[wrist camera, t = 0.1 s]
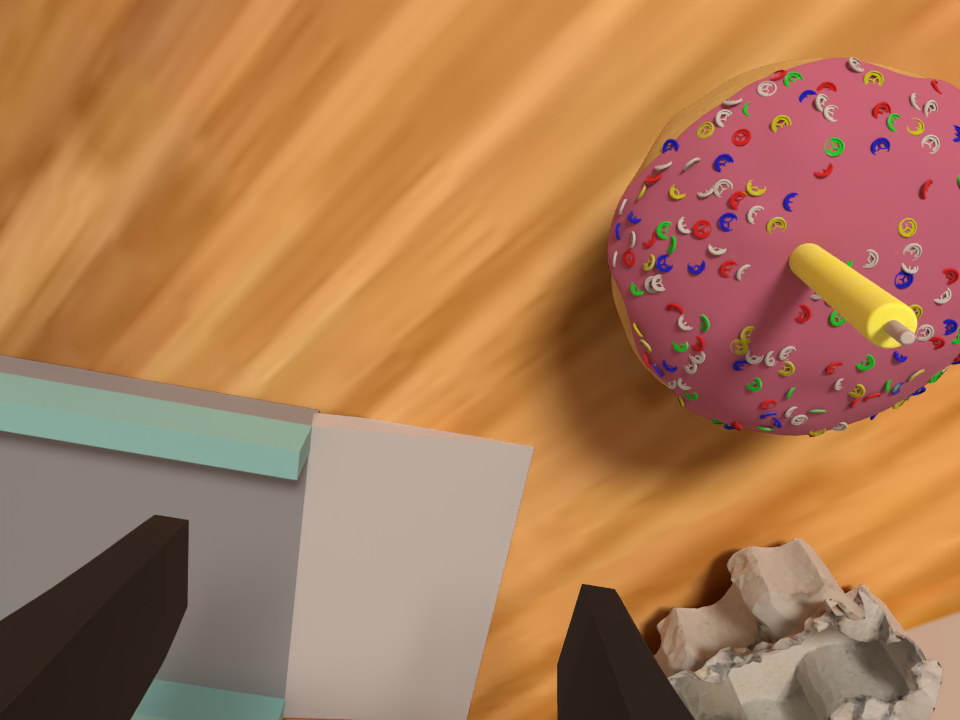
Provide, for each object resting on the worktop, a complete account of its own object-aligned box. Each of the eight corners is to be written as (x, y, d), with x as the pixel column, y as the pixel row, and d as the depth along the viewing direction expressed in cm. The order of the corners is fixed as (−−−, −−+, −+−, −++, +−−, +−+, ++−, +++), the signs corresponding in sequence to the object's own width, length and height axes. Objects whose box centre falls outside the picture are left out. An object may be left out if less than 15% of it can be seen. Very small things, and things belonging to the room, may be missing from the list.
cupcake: (529, 248, 21) (556, 490, 10) (731, -29, 18) (1086, -115, 7) (752, 400, 23) (982, 745, 12) (971, 172, 20) (1551, 353, 9)
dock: (466, 705, 30) (461, 794, 26) (-59, 624, 29) (-135, 706, 25) (533, 435, 24) (538, 502, 21) (-110, 323, 23) (-215, 374, 20)
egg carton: (781, 506, 24) (843, 596, 20) (913, 618, 26) (990, 718, 22) (553, 690, 27) (570, 798, 23) (688, 775, 29) (723, 886, 25)
